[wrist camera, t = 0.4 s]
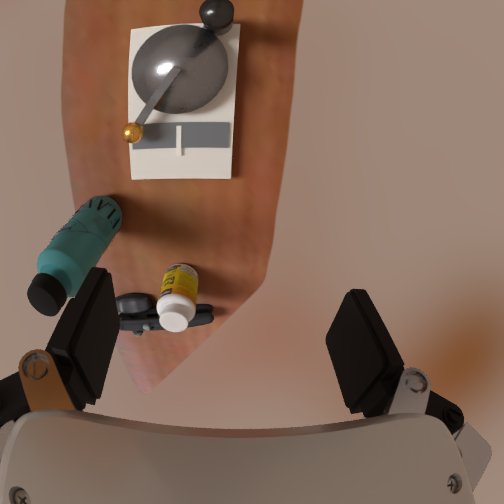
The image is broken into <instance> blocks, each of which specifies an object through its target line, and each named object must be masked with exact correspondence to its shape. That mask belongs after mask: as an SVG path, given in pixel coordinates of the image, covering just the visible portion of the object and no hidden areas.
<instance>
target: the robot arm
mask: <svg viewBox="0 0 504 504" xmlns="http://www.w3.org/2000/svg"><path fill="white" fill-rule="evenodd" d="M119 329H120V320H119V315H118V310H117V305H116V299H115V294H114V288H113V282H112V276H111V273H108V272H107V270H106V269H105V268H98V267H92V268H91V269H90V271H89V272H88V274H87V276H86V278H85V279H84V281H83V283H82V285H81V287H80V289H79V290H78V292H77V294H76V296H75V298H71V299H70V300H69V302H68V304H67V306H66V308H65V310H64V311H63V313H62V315H61V317H60V320H59V321H58V323H57V325H56V328H55V330H54V332H53V334H52V336H51V338H50V340H49V342H48V345H47V347H46V349H45V351H44V350H41V349H36V350H31V351H29V352H27V353H26V354H25V355H24V356H23V357H22V358H21V360H20V363H19V367H18V368H19V371H18V372H16V373H15V374H12V375H10V376H8V377H6V378H4V379H2V380H0V504H475V500H474V496H473V493H472V492H473V491H474V489H475V487H476V485H477V484H478V482H479V480H480V478H481V476H482V475H483V473H484V471H485V469H486V467H487V465H488V463H489V461H490V458H491V455H492V451H491V447H490V445H489V444H488V443H487V441H486V440H485V439H484V438H483V437H482V436H481V435H480V434H479V433H478V432H477V431H476V430H475V429H474V428H473V427H472V426H471V425H470V424H469V423H468V422H466V423H465V424H464V416H463V413H462V411H461V409H460V408H459V407H458V406H457V405H455V404H454V403H452V402H450V401H448V400H447V399H445V398H443V397H441V396H440V395H438V394H436V393H434V392H433V391H431V390H430V387H431V384H430V380H429V378H428V377H427V375H426V374H425V373H424V372H423V371H421V370H420V369H417V368H412V367H410V368H407V369H404V367H403V366H404V362H403V360H402V358H401V356H400V354H399V352H398V350H397V348H396V346H395V344H394V342H393V340H392V338H391V336H390V334H389V332H388V330H387V328H386V326H385V325H384V323H383V321H382V319H381V317H380V315H379V313H378V312H377V310H376V308H375V306H374V304H373V302H372V301H371V299H370V297H369V295H368V293H367V292H366V290H364V289H352V290H350V292H347V294H346V295H345V297H344V299H343V302H342V303H341V306H340V308H339V310H338V312H337V314H336V317H335V318H334V321H333V323H332V325H331V327H330V329H329V331H328V333H327V335H326V345H327V348H328V351H329V354H330V357H331V360H332V363H333V367H334V370H335V373H336V376H337V379H338V383H339V385H340V389H341V392H342V396H343V399H344V402H345V405H346V407H348V408H349V409H350V412H351V414H354V413H360V412H363V415H364V417H363V419H359V420H353V421H346V422H339V423H332V424H324V425H314V426H304V427H291V428H274V429H211V428H193V427H181V426H170V425H162V424H154V423H147V422H139V421H133V420H127V419H121V418H115V417H109V416H104V415H99V414H94V413H88V412H84V411H83V409H84V408H85V406H86V403H87V404H91V405H95V402H96V398H97V399H100V397H101V394H102V390H103V386H104V382H105V378H106V374H107V371H108V367H109V363H110V360H111V356H112V353H113V349H114V346H115V343H116V339H117V336H118V333H119Z"/></svg>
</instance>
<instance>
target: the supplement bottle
mask: <svg viewBox="0 0 504 504" xmlns="http://www.w3.org/2000/svg"><path fill="white" fill-rule="evenodd" d="M198 282H199V278H198V274H197V272H196V271H195V270H194V269H193V268H192V267H190V266H188V265H186V264H175V265H172V266H170V267H169V268H168V269H167V270H166V272H165V275H164V279H163V283H162V286H161V290H160V294H159V298H158V302H157V312H158V314H159V316H160V319H159V322H160V324H161V326H162V327H163V328H164V329H166V330H168V331H171V332H181V331H183V330H185V329H186V328H187V326H188V322H189V321H191V320H192V319H193V317H194V315H195V311H196V301H197V291H198Z"/></svg>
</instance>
